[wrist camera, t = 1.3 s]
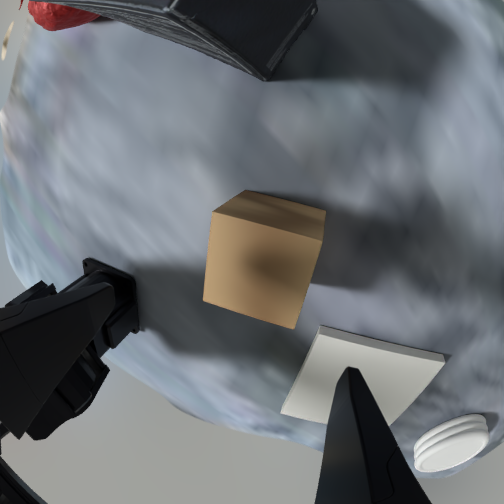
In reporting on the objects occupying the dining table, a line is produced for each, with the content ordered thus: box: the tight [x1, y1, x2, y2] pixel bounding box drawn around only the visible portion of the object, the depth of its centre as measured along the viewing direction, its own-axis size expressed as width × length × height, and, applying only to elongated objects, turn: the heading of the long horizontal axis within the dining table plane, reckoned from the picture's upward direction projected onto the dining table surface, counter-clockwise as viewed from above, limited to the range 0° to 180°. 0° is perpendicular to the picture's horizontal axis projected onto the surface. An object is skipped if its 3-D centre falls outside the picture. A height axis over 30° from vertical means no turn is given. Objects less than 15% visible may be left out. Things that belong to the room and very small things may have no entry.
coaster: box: [414, 414, 490, 472], centre depth 19 cm, size 10×10×4 cm
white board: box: [281, 325, 445, 426], centre depth 20 cm, size 11×11×1 cm
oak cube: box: [203, 190, 326, 330], centre depth 15 cm, size 5×5×5 cm
